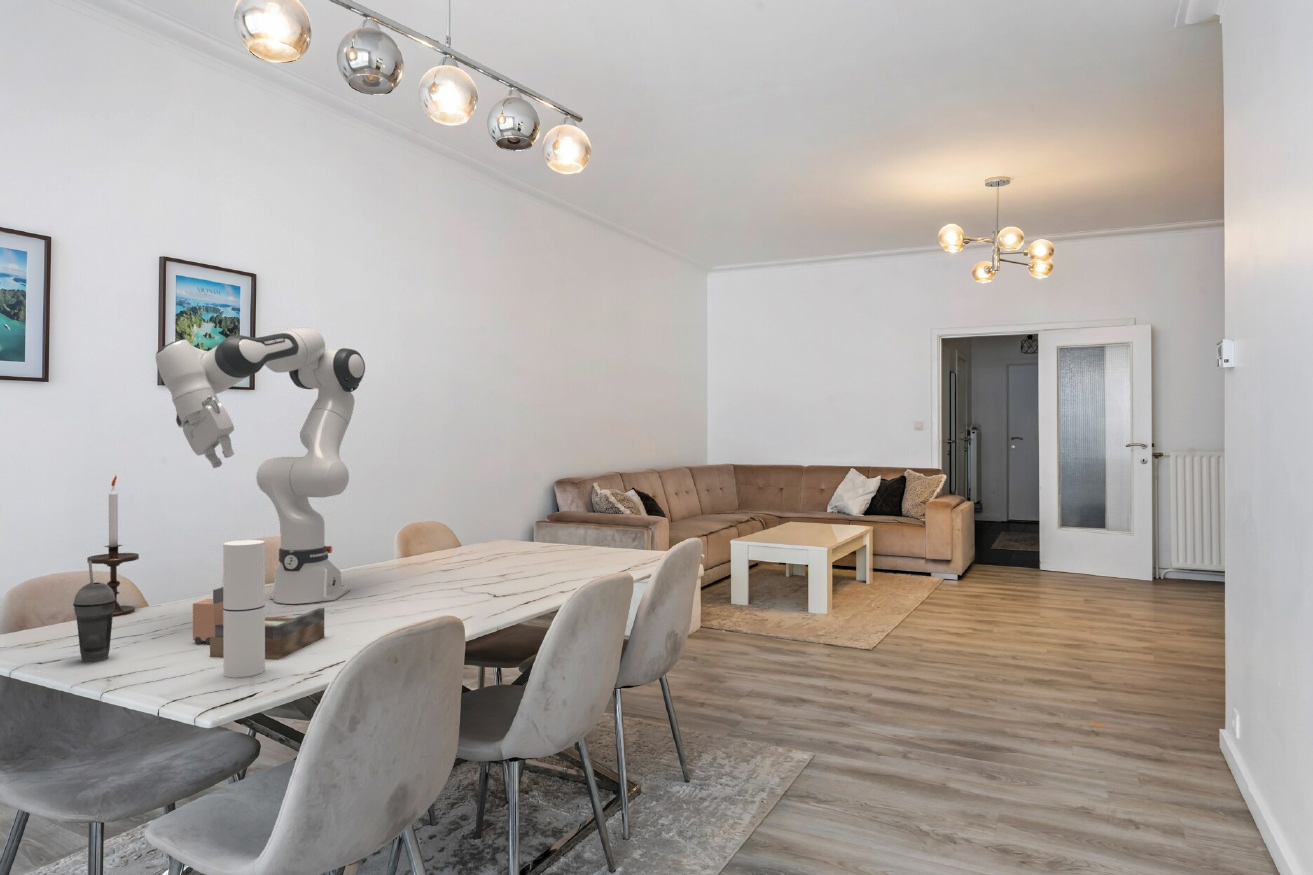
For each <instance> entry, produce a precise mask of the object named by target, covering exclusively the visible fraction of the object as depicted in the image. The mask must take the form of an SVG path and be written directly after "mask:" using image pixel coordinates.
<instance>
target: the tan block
mask: <svg viewBox="0 0 1313 875" xmlns="http://www.w3.org/2000/svg"><path fill="white" fill-rule="evenodd" d="M223 609H224V608H223V586H222V587H218V588H214V589H213V591H212V598H206V599H203V600H200V601H197V602H194V603H193V602H192V641H194V643H195V644H196V645H200V644H203V643H204V642H205V643H206V644H207V645H208V646H210V637H211V636H214V635H215V625H217V624H223Z"/></svg>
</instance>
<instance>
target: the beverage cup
mask: <svg viewBox="0 0 1313 875" xmlns="http://www.w3.org/2000/svg"><path fill="white" fill-rule="evenodd" d="M87 564H88V570H89V571H88V572H89V580H90V581H89V582H90V583H88V584H85V585H84V586H81V588H79V589H78V591H77V592H76V594H75V596H74V601H73V605H72V606H73V609H74V613H75V616H76V625H77V634H78V636H77V637H78V644H79V653H80V658H81V663H85V662H91V663H98V662H103V661H106V660H108V659H109V654H110V651H111V650H110V649H111V639H112V630H113V628H112V627H113V612H114V608H115V602H116V599H115V594H114V592H113V590H112V589H111V588H110V587H109V586H108V585H107V583H104V582H99V581H98V582H94V573H93V565H92V563H91V561H88V563H87Z"/></svg>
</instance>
